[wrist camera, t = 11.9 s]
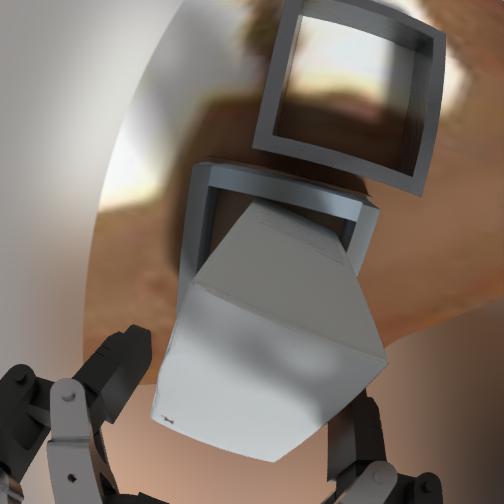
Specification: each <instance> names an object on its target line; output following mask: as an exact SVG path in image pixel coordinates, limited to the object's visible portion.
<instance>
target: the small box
mask: <svg viewBox="0 0 504 504" xmlns="http://www.w3.org/2000/svg"><path fill="white" fill-rule="evenodd" d="M387 365H388V360H387V357H386V354H385V351H384V348H383V345H382V342H381V339H380V336H379V334H378V331H377V328H376V325H375V323H374V320H373V317H372V315H371V312H370V309H369V307H368V305H367V302H366V300H365V297H364V295H363V292H362V290H361V287H360V285H359V283H358V280H357V278H356V276H355V273H354V271H353V268H352V266H351V264H350V262H349V259H348V257H347V255H346V253H345V250H344V248H343V246H342V244H341V242H340V240H339V238H338V235H337V234H336V232H334V231H332V230H330V229H328V228H326V227H323V226H321V225H319V224H317V223H315V222H313V221H311V220H309V219H307V218H305V217H303V216H301V215H298V214H296V213H294V212H292V211H290V210H288V209H285V208H283V207H281V206H279V205H277V204H275V203H272V202H270V201H268V200H266V199H264V198H261V197H259V196H257V197H255V199H254V200H253V201H252V203H251V204H250V205H249V207H248V208H247V209H246V211H245V212H244V213H243V214H242V216H241V217H240V218H239V219H238V220H237V222H236V223H235V224H234V226H233V227H232V228H231V229H230V231H229V232H228V233H227V235H226V236H225V237H224V239H223V240H222V241H221V243H220V244H219V245H218V246H217V248H216V249H215V250H214V251H213V253H212V254H211V255H210V257H209V258H208V259H207V261H206V262H205V263H204V265H203V266H202V267H201V269H200V270H199V272H198V273H197V274H196V276H195V277H194V278H193V280H192V281H191V283H190V284H189V286H188V289H187V291H186V294H185V297H184V300H183V302H182V305H181V308H180V311H179V314H178V316H177V319H176V322H175V325H174V328H173V332H172V335H171V338H170V341H169V344H168V347H167V350H166V353H165V357H164V359H163V362H162V365H161V368H160V371H159V374H158V379H157V382H156V392H155V396H154V401H153V404H152V409H151V413H150V418H152V419H153V420H155V421H157V422H158V423H160V424H162V425H164V426H166V427H168V428H170V429H172V430H175V431H177V432H179V433H181V434H184V435H186V436H188V437H191V438H193V439H196V440H199V441H201V442H204V443H207V444H210V445H212V446H215V447H218V448H221V449H224V450H227V451H231V452H234V453H238V454H241V455H244V456H248V457H252V458H256V459H260V460H265V461H269V462H276V461H278V460H279V459H280V458H282V457H283V456H285V455H286V454H288V453H289V452H290V451H292V450H293V449H294V448H296V447H297V446H299V445H300V444H301V443H303V442H304V441H305V440H307V439H308V438H309V437H310V436H312V435H313V434H314V433H315V432H317V431H318V430H319V429H320V428H322V427H323V426H324V425H325V424H326V423H328V422H329V421H330V420H331V419H332V418H333V417H334V416H336V415H337V414H338V413H339V412H340V411H341V410H343V409H344V408H345V407H346V406H347V405H348V404H349V403H350V402H351V401H352V400H353V399H354V398H356V397H357V396H358V395H359V394H360V393H361V392H362V391H363V390H364V389H365V388H366V387H367V386H368V385H369V384H370V383H371V382H372V381H373V380H374V379H375V378H376V377H377V376H378V375H379V373H380V372H381V371H382V370H383V369H384V368H385V367H386V366H387Z"/></svg>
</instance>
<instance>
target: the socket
mask: <svg viewBox="0 0 504 504" xmlns="http://www.w3.org/2000/svg"><path fill="white" fill-rule="evenodd" d="M303 16H307V17H312V18H317V19H321V20H326V21H330V22H334V23H338V24H341V25H345V26H348V27H352V28H355V29H358V30H362V31H365V32H368V33H371V34H374V35H376V36H379V37H382V38H385V39H387V40H390V41H392V42H395V43H397V44H400V45H402V46H404V47H407V48H409V49H411V50H413V51H415V62H414V71H413V79H412V87H411V94H410V100H409V106H408V112H407V117H406V123H405V128H404V133H403V138H402V142H401V147H400V151H399V155H398V160H397V164H396V168H395V170H392V169H389V168H387V167H384V166H381V165H378V164H375V163H372V162H369V161H366V160H363V159H360V158H357V157H354V156H351V155H347V154H344V153H341V152H337V151H334V150H330V149H327V148H323V147H319V146H316V145H312V144H308V143H304V142H300V141H296V140H291V139H287V138H283V137H278V136H277V132H278V127H279V123H280V118H281V113H282V109H283V104H284V100H285V95H286V91H287V86H288V81H289V77H290V72H291V68H292V63H293V59H294V54H295V49H296V45H297V40H298V36H299V31H300V27H301V22H302V17H303ZM445 56H446V34H445V33H443V32H441V31H439V30H437V29H435V28H433V27H432V26H430V25H428V24H426V23H424V22H421V21H419V20H417V19H415V18H413V17H411V16H408V15H406V14H404V13H402V12H399V11H397V10H394V9H392V8H389V7H386V6H384V5H381V4H378V3H375V2H373V1H370V0H285V4H284V8H283V12H282V16H281V20H280V24H279V28H278V33H277V37H276V41H275V45H274V49H273V54H272V58H271V62H270V67H269V71H268V75H267V80H266V84H265V89H264V93H263V98H262V102H261V107H260V112H259V116H258V121H257V126H256V130H255V135H254V140H253V145H252V148H255V149H259V150H264V151H269V152H274V153H278V154H282V155H287V156H291V157H295V158H299V159H303V160H307V161H311V162H315V163H319V164H322V165H326V166H330V167H333V168H337V169H340V170H343V171H347V172H350V173H353V174H357V175H360V176H363V177H366V178H369V179H372V180H375V181H378V182H381V183H384V184H387V185H390V186H392V187H395V188H398V189H401V190H403V191H406V192H409V193H411V194H414V195H417V196H419V197H421V196H422V193H423V189H424V186H425V182H426V178H427V174H428V170H429V166H430V162H431V158H432V153H433V149H434V144H435V139H436V133H437V128H438V122H439V116H440V109H441V102H442V94H443V84H444V73H445Z"/></svg>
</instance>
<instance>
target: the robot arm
mask: <svg viewBox="0 0 504 504" xmlns="http://www.w3.org/2000/svg"><path fill="white" fill-rule="evenodd" d="M151 360H152V347H151V332H150V330H147V329H145V328H142V327H139V326H137V325H134V324H133V325H131V326H130V327H129V328H128V329H127V330H126V332H125V333H121V332H119V331H118V332H117V333H115V334H113V335H111V336H109V337H108V338H107V339H106V340H105V341H104V342H103V343H102V344H101V347H99V348H98V349H97V350H96V351H95V353H93V355H92V356H91V357H90V358H89V359H88V360H87V361H86V363H85V364H84V365H83V366H82V367H81V368H80V370H79V371H78V372H77V373H76V374H75V375H74V377H72V378H63V379H60V380H58V381H56V382H52V381H49V380H46V379H42V378H39V377H36V375H35V373H34V371H33V370H32V369H31V368H30V367H29V366H27V365H24V364H19V365H15V366H13V367H12V368H11V369H10V370H9V371H8V372H7V373H6V374H5V375H4V376H3V378H2V379H1V380H0V504H21V503H22V501H23V500H24V495H23V491H22V488H21V485H20V482H21V480H22V478H23V476H24V474H25V473H26V471H27V469H28V467H29V466H30V464H31V462H32V460H33V459H34V457H35V455H36V454H37V452H38V450H39V449H40V447H41V445H42V444H43V442H44V440H45V439H46V437H47V436H48V434H49V432H50V431H51V435H52V437H51V440H49V441H48V442H47V458H48V466H49V472H50V478H51V484H52V489H53V494H54V499H55V504H169V503H166V502H164V501H161V500H158V499H156V498H153V497H150V496H148V495H146V494H143V493H141V492H139V494H138V496H137V495H130V494H120V493H119V490H118V487H117V484H116V481H115V478H114V476H113V473H112V471H111V469H110V466H109V462H108V458H107V454H106V449H105V445H104V440H103V435H102V430H101V425H102V424H103V422H104V421H107V422H109V423H111V424H113V423H114V422H115V420H116V419H117V417H118V416H119V414H120V412H121V411H122V409H123V408H124V406H125V404H126V403H127V401H128V400H129V398H130V397H131V395H132V393H133V392H134V390H135V389H136V387H137V385H138V384H139V382H140V381H141V379H142V378H143V376H144V375H145V373H146V371H147V370H148V368H149V366H150V363H151ZM381 427H382V425H381V420H380V414H379V408H378V406H377V404H376V403H375V401H374V399H373V398H371V397H367V393H366V388H365V389H364V390H363V391H362V392H361V393H360V394H359V395H358V396H357V397H356V398H354V399H353V400H352V401H351V402H350V403H349V404H348V405H347V406H346V407H345V408H344V409H343V410H341V411H340V412H339V413H338V414H337V415H336V416H334V417H333V418H332V419H331V420H330V421H329V422H328V470H327V482H336V489H334V490H333V491H332V493H331V494H330V495H329V496H328V497H327V498H326V499H325V500H324V501H323V502H322V503H321V504H443V497H442V487H441V482H440V479H439V478H438V477H437V476H436V475H435V474H433V473H430V472H427V473H423V474H421V475H419V476H418V477H411V476H407V475H402V474H399V473H397V471H396V469H395V468H394V466H393V465H391V464H390V463H388V462H387V460H386V453H385V445H384V439H383V432H382V429H381Z"/></svg>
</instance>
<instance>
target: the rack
mask: <svg viewBox="0 0 504 504" xmlns="http://www.w3.org/2000/svg"><path fill="white" fill-rule="evenodd" d="M257 196H259V197H261V198H264V199H266V200H268V201H270V202H272V203H275V204H277V205H279V206H281V207H283V208H285V209H288V210H290V211H292V212H294V213H296V214H298V215H301V216H303V217H305V218H307V219H309V220H311V221H313V222H315V223H317V224H319V225H321V226H323V227H326V228H328V229H330V230H332V231H334V232H336V234H337V235H338V238H339V240H340V242H341V244H342V246H343V248H344V250H345V253H346V255H347V257H348V259H349V262H350V264H351V266H352V268H353V271H354V273H355V276H356V278H357V276H358V273H359V271H360V268H361V265H362V263H363V260H364V257H365V254H366V252H367V249H368V246H369V243H370V240H371V237H372V234H373V231H374V228H375V225H376V222H377V219H378V216H379V213H380V209H379V208H377V207H376V206H375V205H373V204H372V200H373V197H372V196H370V195H368V194H365V193H362V192H359V191H355V190H352V189H349V188H345V187H342V186H339V185H335V184H332V183H328V182H324V181H321V180H317V179H313V178H309V177H306V176H302V175H298V174H294V173H290V172H285V171H281V170H277V169H272V168H268V167H263V166H259V165H254V164H249V163H244V162H239V161H234V160H229V159H224V158H218V157H212V156H206V157H205V158H204V162H202V163H196V164H193V165H192V171H191V178H190V184H189V191H188V198H187V206H186V214H185V222H184V230H183V239H182V248H181V259H180V270H179V282H178V295H177V311H176V319H177V316H178V314H179V311H180V308H181V305H182V302H183V300H184V297H185V294H186V291H187V289H188V286H189V284H190V283H191V281H192V280H193V278H194V277H195V276H196V274H197V273H198V272H199V270H200V269H201V267H202V266H203V265H204V263H205V262H206V261H207V259H208V258H209V257H210V255H211V254H212V253H213V251H214V250H215V249H216V248H217V246H218V245H219V244H220V243H221V241H222V240H223V239H224V237H225V236H226V235H227V233H228V232H229V231H230V229H231V228H232V227H233V226H234V224H235V223H236V222H237V220H238V219H239V218H240V217H241V216H242V214H243V213H244V212H245V211H246V209H247V208H248V207H249V205H250V204H251V203H252V201H253V200H254V199H255V197H257Z"/></svg>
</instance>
